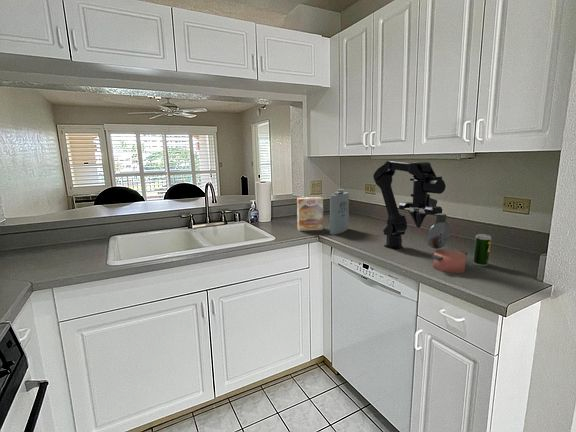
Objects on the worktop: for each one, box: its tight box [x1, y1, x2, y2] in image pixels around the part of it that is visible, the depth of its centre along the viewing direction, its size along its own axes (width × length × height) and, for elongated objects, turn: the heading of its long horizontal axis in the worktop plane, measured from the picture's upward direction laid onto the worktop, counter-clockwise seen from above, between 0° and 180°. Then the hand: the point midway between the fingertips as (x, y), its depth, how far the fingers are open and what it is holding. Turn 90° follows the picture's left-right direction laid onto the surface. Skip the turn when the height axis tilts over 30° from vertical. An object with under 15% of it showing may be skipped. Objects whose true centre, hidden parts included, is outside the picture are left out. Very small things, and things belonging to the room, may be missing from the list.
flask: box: [329, 188, 350, 235], centre depth 181 cm, size 17×5×25 cm, turn 141°
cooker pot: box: [431, 248, 468, 274], centre depth 122 cm, size 12×15×6 cm
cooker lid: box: [426, 213, 451, 250], centre depth 125 cm, size 14×11×1 cm
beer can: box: [472, 233, 492, 267], centre depth 124 cm, size 5×5×12 cm
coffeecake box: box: [296, 196, 324, 232], centre depth 189 cm, size 15×7×20 cm, turn 97°
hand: (418, 227), depth 135 cm, fingers closed
